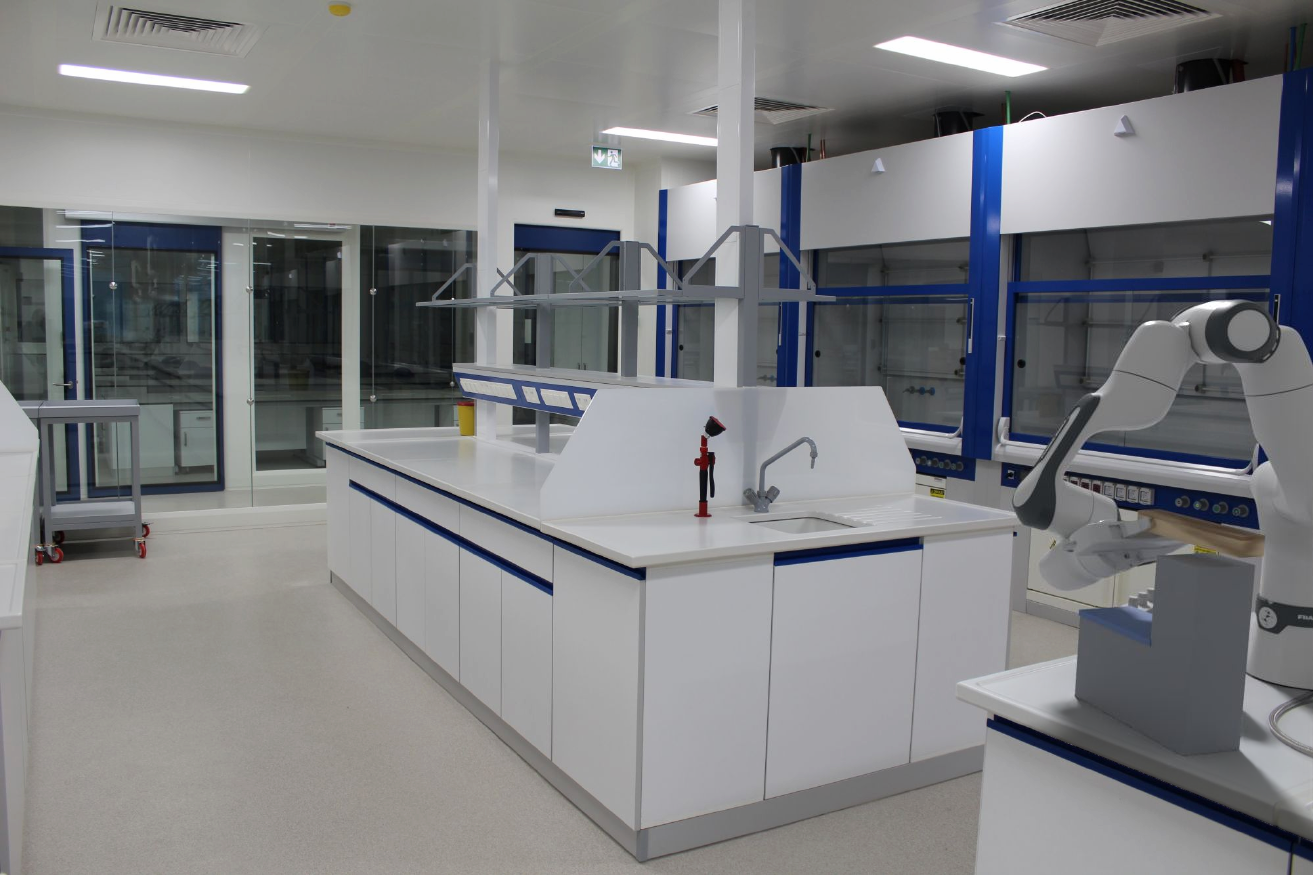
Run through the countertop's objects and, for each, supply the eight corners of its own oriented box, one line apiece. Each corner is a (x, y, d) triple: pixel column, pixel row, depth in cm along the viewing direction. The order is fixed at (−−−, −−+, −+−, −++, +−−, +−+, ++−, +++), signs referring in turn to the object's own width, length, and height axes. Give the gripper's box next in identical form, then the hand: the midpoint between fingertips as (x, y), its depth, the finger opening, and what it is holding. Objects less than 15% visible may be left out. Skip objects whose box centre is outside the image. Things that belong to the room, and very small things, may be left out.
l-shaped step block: (1125, 690, 170) (1136, 531, 166) (1240, 749, 146) (1256, 564, 143) (1073, 695, 167) (1083, 533, 164) (1182, 755, 144) (1197, 568, 141)
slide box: (1157, 527, 158) (1159, 509, 157) (1263, 556, 138) (1265, 535, 138) (1136, 528, 157) (1137, 510, 156) (1240, 557, 137) (1242, 536, 137)
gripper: (1050, 532, 164) (1103, 504, 152) (1153, 526, 169) (1212, 499, 157) (1061, 568, 162) (1115, 543, 149) (1165, 562, 167) (1225, 536, 155)
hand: (1165, 520), depth 153 cm, fingers closed on slide box, 4 cm apart
